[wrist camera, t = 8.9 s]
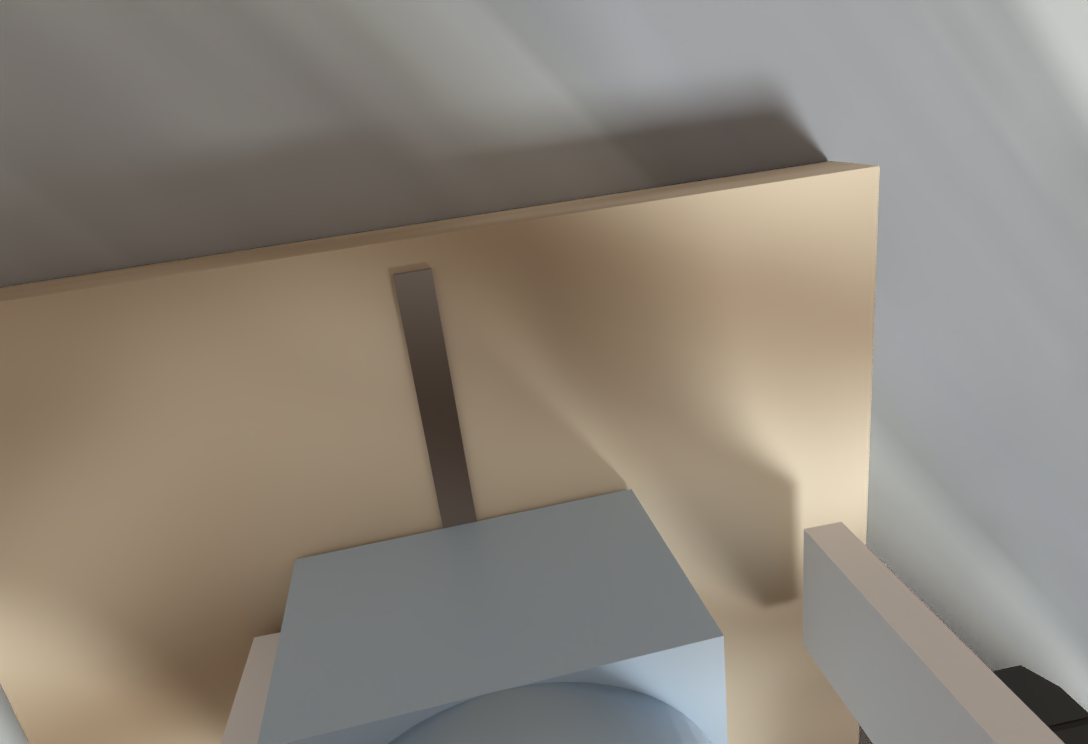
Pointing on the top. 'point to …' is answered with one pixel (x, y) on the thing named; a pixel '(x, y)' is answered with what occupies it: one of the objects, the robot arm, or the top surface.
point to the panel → (432, 430)
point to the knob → (501, 637)
